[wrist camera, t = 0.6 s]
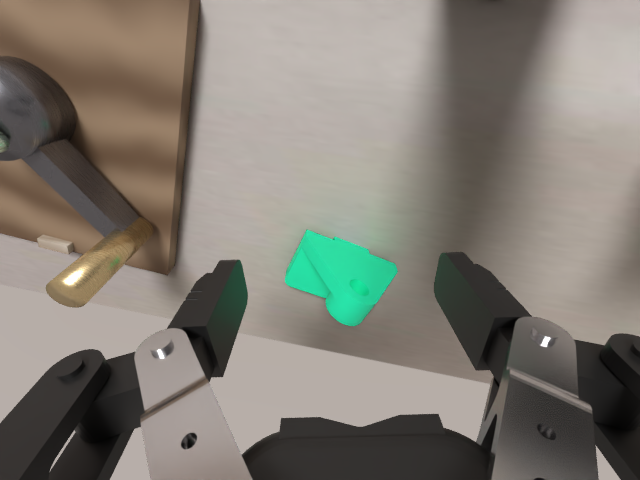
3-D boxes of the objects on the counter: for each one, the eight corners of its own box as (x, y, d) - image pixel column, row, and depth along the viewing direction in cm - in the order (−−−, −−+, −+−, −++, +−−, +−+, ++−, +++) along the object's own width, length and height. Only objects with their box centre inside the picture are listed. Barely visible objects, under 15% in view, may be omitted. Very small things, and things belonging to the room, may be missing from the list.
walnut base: (-192, -172, 17) (-273, -209, 15) (200, -1, 22) (185, -9, 19) (-44, 208, 32) (-73, 220, 29) (174, 265, 36) (164, 279, 34)
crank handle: (-38, 82, 23) (-272, 95, 14) (17, 37, 21) (-207, 19, 12) (128, 245, 32) (52, 319, 23) (177, 222, 30) (115, 292, 21)
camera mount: (284, 270, 37) (273, 334, 28) (307, 224, 33) (302, 282, 24) (363, 297, 39) (376, 364, 31) (393, 258, 36) (416, 321, 27)
